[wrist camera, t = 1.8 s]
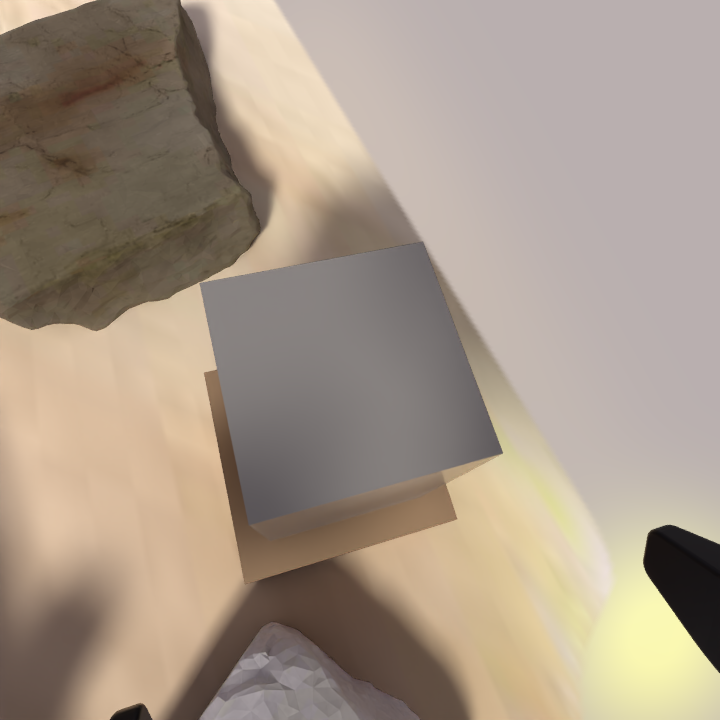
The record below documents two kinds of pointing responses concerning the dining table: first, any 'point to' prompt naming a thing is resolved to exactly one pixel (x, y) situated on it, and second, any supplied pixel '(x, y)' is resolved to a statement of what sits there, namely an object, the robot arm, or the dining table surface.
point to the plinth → (322, 541)
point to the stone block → (297, 685)
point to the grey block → (343, 387)
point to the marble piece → (111, 165)
